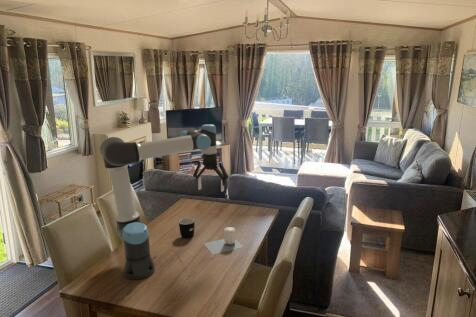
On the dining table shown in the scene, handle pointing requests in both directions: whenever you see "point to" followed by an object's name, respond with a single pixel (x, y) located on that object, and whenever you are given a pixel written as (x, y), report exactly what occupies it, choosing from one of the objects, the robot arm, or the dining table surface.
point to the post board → (221, 246)
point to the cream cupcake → (229, 235)
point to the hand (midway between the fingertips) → (211, 190)
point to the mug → (187, 227)
